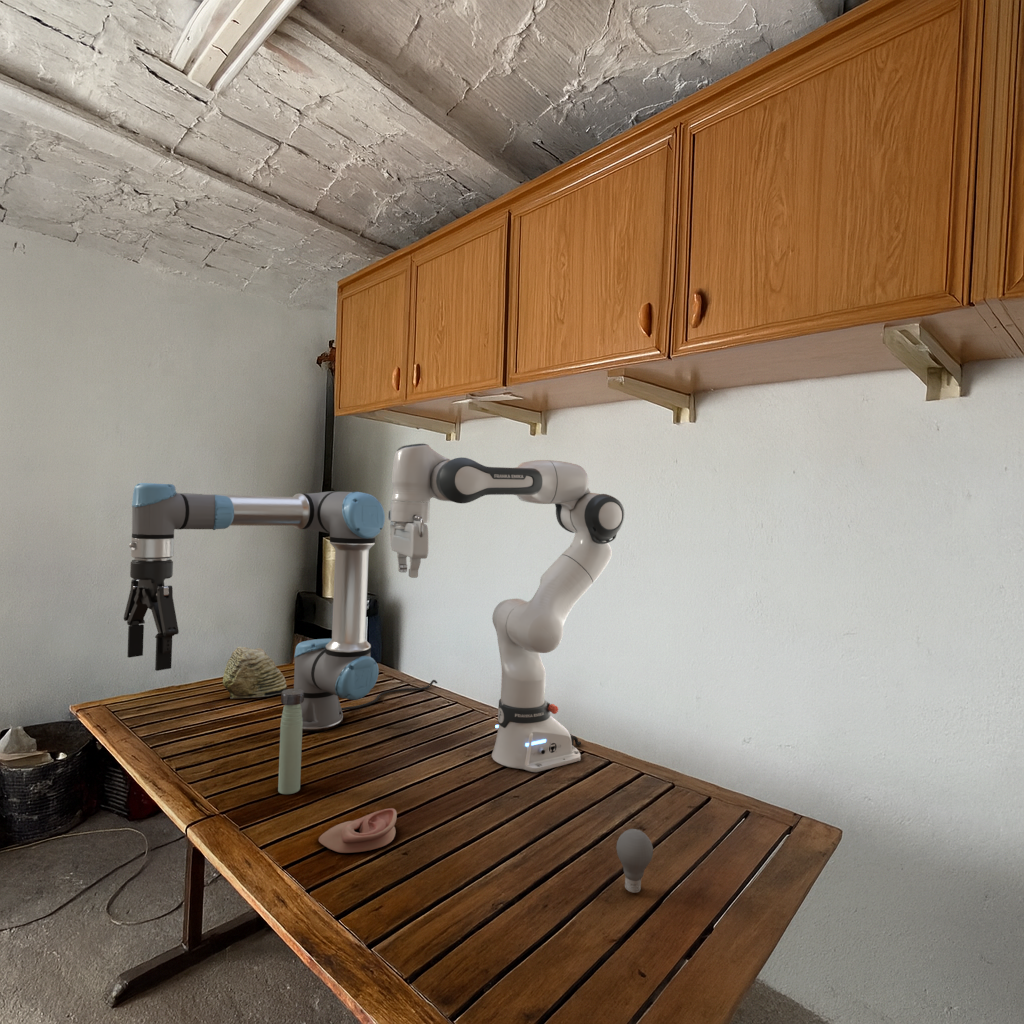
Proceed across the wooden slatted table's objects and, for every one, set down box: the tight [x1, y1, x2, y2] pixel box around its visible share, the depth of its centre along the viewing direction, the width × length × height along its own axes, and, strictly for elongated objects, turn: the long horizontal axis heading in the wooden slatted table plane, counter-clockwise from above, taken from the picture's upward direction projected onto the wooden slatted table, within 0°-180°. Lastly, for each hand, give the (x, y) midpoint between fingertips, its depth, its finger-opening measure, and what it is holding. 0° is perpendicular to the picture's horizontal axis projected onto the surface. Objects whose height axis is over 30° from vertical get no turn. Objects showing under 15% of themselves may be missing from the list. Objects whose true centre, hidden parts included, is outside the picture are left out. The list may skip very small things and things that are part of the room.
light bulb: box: [615, 828, 654, 894], centre depth 106 cm, size 6×6×10 cm
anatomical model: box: [318, 807, 398, 854], centre depth 118 cm, size 13×4×12 cm
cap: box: [280, 688, 304, 705], centre depth 136 cm, size 4×5×2 cm
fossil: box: [222, 646, 288, 699], centre depth 198 cm, size 9×18×15 cm, turn 132°
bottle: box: [277, 704, 303, 795], centre depth 136 cm, size 4×4×21 cm
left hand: (148, 662), depth 129 cm, fingers open, 13 cm apart
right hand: (407, 574), depth 145 cm, fingers open, 8 cm apart
